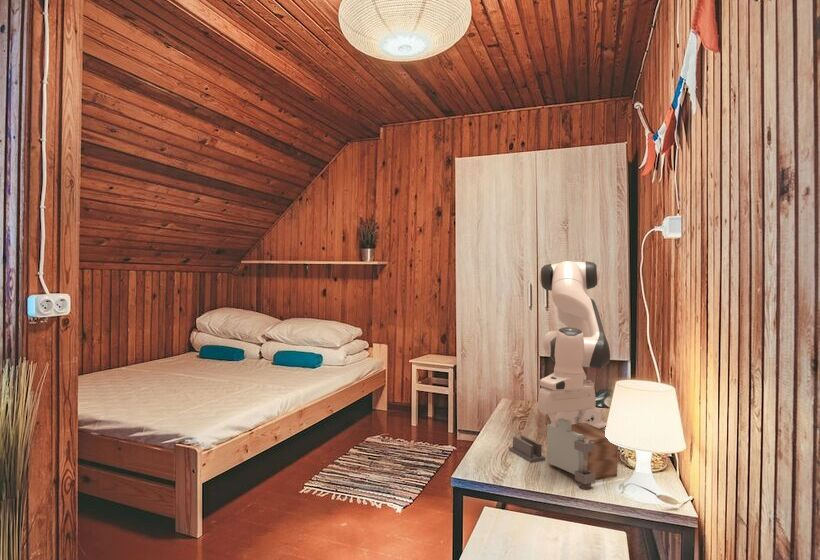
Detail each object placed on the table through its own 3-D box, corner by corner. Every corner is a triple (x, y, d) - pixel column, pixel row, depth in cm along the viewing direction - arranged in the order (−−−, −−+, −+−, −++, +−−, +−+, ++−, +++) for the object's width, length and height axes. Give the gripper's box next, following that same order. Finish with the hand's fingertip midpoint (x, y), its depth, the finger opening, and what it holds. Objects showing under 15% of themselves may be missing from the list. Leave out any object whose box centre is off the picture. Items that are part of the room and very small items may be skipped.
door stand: (522, 449, 174) (523, 433, 174) (545, 461, 163) (545, 445, 163) (508, 451, 171) (509, 435, 171) (530, 464, 160) (531, 447, 160)
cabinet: (583, 461, 165) (585, 416, 164) (625, 482, 149) (627, 433, 148) (545, 467, 158) (547, 421, 158) (584, 490, 142) (586, 438, 142)
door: (554, 464, 160) (554, 414, 160) (595, 482, 144) (594, 427, 144) (544, 465, 158) (544, 415, 159) (584, 484, 142) (584, 428, 143)
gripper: (586, 376, 159) (584, 418, 159) (535, 380, 151) (533, 425, 151) (601, 380, 153) (599, 424, 153) (549, 385, 145) (547, 431, 145)
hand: (566, 424), depth 152 cm, fingers open, 8 cm apart
